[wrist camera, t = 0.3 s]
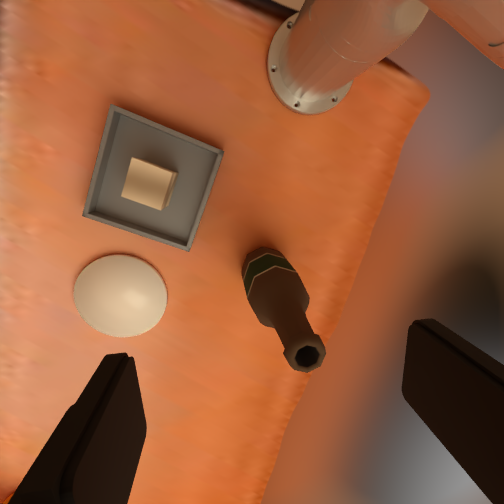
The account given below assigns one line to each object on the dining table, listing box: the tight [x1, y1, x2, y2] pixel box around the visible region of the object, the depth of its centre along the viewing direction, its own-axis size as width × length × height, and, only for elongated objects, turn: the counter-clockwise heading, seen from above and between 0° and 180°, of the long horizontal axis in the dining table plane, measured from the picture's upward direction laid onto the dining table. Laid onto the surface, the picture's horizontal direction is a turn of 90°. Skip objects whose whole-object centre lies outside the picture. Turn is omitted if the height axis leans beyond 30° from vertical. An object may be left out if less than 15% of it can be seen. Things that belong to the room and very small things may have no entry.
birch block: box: [121, 157, 179, 210], centre depth 38 cm, size 5×5×6 cm
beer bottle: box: [242, 247, 326, 373], centre depth 35 cm, size 8×8×24 cm
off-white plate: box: [74, 254, 168, 337], centre depth 45 cm, size 14×14×1 cm
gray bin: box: [82, 104, 224, 252], centre depth 40 cm, size 15×15×3 cm
